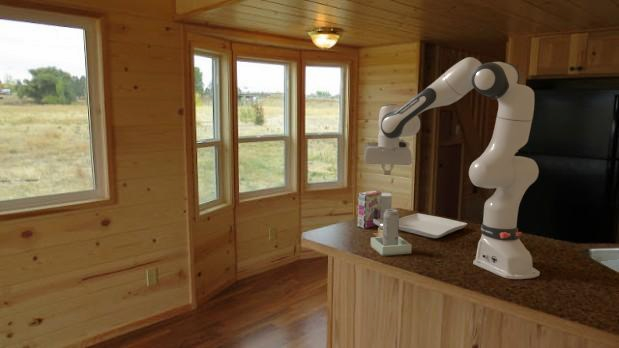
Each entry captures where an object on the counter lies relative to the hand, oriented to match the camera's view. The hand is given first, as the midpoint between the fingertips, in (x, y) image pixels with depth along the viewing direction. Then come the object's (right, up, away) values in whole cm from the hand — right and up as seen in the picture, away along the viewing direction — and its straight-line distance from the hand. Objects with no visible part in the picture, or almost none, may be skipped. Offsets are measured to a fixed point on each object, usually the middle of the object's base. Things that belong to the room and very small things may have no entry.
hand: (387, 174), depth 184 cm
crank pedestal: (-3, -27, -1) cm, 28 cm away
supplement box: (+4, -23, +31) cm, 39 cm away
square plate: (+21, -26, +13) cm, 35 cm away
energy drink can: (-1, -29, -14) cm, 32 cm away
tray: (-1, -30, -15) cm, 33 cm away
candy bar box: (-5, -25, +18) cm, 31 cm away
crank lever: (-3, -22, -2) cm, 22 cm away
